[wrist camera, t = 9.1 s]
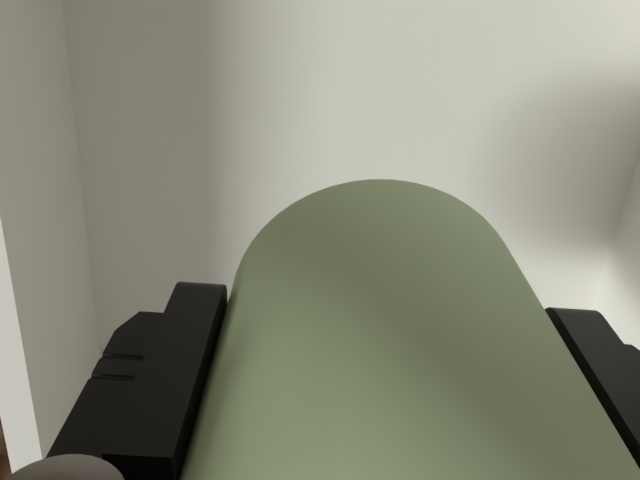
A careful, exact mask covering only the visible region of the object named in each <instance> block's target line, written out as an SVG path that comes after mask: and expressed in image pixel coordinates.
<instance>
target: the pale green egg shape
mask: <svg viewBox="0 0 640 480" xmlns="http://www.w3.org/2000/svg"><path fill="white" fill-rule="evenodd" d="M179 480H640V469H639V467H638V465H637V464H636V462H635V460H634V459H633V457H632V455H631V454H630V452H629V450H628V448H627V447H626V445H625V443H624V442H623V440H622V438H621V437H620V435H619V433H618V432H617V430H616V428H615V427H614V425H613V423H612V422H611V420H610V418H609V417H608V415H607V413H606V412H605V410H604V408H603V407H602V405H601V403H600V402H599V400H598V398H597V397H596V395H595V393H594V392H593V390H592V388H591V387H590V385H589V383H588V382H587V380H586V378H585V376H584V375H583V373H582V371H581V370H580V368H579V366H578V365H577V363H576V361H575V360H574V358H573V356H572V355H571V353H570V351H569V350H568V348H567V346H566V345H565V343H564V341H563V340H562V338H561V336H560V335H559V333H558V331H557V330H556V328H555V326H554V325H553V323H552V321H551V320H550V318H549V316H548V315H547V313H546V311H545V310H544V308H543V306H542V304H541V303H540V301H539V299H538V298H537V296H536V294H535V293H534V291H533V289H532V288H531V286H530V284H529V283H528V281H527V279H526V278H525V276H524V274H523V273H522V271H521V269H520V268H519V266H518V264H517V263H516V261H515V259H514V258H513V256H512V254H511V253H510V251H509V249H508V248H507V246H506V244H505V243H504V241H503V240H502V238H501V237H500V236H499V234H498V233H497V231H496V230H495V229H494V228H493V227H492V226H491V225H490V223H489V222H488V221H487V220H486V219H485V218H484V217H483V216H482V215H480V214H479V213H478V212H477V211H475V210H474V209H473V208H471V207H470V206H469V205H468V204H466V203H464V202H462V201H461V200H459V199H457V198H455V197H454V196H452V195H450V194H448V193H445V192H443V191H440V190H438V189H435V188H433V187H429V186H426V185H422V184H418V183H414V182H408V181H401V180H393V179H368V180H359V181H351V182H346V183H342V184H338V185H334V186H330V187H327V188H325V189H322V190H319V191H317V192H314V193H311V194H309V195H307V196H306V197H304V198H302V199H300V200H298V201H296V202H294V203H293V204H291V205H290V206H288V207H287V208H285V209H284V210H283V211H281V212H280V213H278V214H277V215H276V216H275V217H274V218H273V219H272V220H271V221H270V222H268V223H267V224H266V225H265V226H264V227H263V228H262V229H261V231H260V232H259V233H258V234H257V236H256V237H255V238H254V239H253V241H252V242H251V243H250V245H249V247H248V248H247V250H246V252H245V253H244V255H243V257H242V259H241V262H240V264H239V266H238V269H237V271H236V274H235V278H234V281H233V285H232V289H231V292H230V296H229V300H228V303H227V307H226V311H225V314H224V318H223V322H222V325H221V329H220V333H219V336H218V340H217V344H216V347H215V351H214V355H213V358H212V362H211V366H210V369H209V373H208V376H207V380H206V384H205V387H204V391H203V395H202V398H201V402H200V406H199V409H198V413H197V417H196V420H195V424H194V428H193V431H192V435H191V439H190V442H189V446H188V450H187V453H186V457H185V460H184V464H183V468H182V471H181V475H180V479H179Z"/></svg>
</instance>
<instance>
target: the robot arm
mask: <svg viewBox="0 0 640 480" xmlns="http://www.w3.org/2000/svg"><path fill="white" fill-rule="evenodd" d="M226 307H227V287H226V285H224V284H209V283H194V282H177V284H176V285H175V288H174V290H173V292H172V294H171V297H170V299H169V301H168V303H167V306H166V308H165V310H164V313H160V312H145V311H139V312H138V313H137V314H135V315H134V316H133V317H131V318H130V319H129V320H127V321H126V322H125V323H124V324H122V325H121V326H120V327H118V328H117V329H116V330H115V331H114V333H113V335H112V337H111V338H110V340H109V342H108V344H107V346H106V348H105V349H104V351H103V353H102V358H100V359H99V360H98V362H97V364H96V366H95V368H94V370H93V371H92V375H91V378H89V379H88V381H87V382H86V384H85V386H84V388H83V390H82V392H81V393H80V395H79V397H78V399H77V401H76V403H75V404H74V406H73V408H72V410H71V412H70V414H69V415H68V417H67V419H66V421H65V423H64V425H63V426H62V428H61V430H60V432H59V434H58V436H57V437H56V439H55V441H54V443H53V445H52V447H51V448H50V450H49V452H48V454H47V456H46V458H45V459H42V460H39V461H36V462H33V463H31V464H29V465H27V466H25V467H23V468H21V469H19V470H17V471H16V472H14V473H12V474H11V475H9V476H8V477H7V478H5V479H4V480H179V479H180V475H181V471H182V468H183V464H184V460H185V457H186V453H187V450H188V446H189V442H190V439H191V435H192V431H193V428H194V424H195V420H196V417H197V413H198V409H199V406H200V402H201V398H202V395H203V391H204V387H205V384H206V380H207V376H208V373H209V369H210V366H211V362H212V358H213V355H214V351H215V347H216V344H217V340H218V336H219V333H220V329H221V325H222V322H223V318H224V314H225V311H226ZM545 311H546V313H547V315H548V316H549V318H550V320H551V321H552V323H553V325H554V326H555V328H556V330H557V331H558V333H559V335H560V336H561V338H562V340H563V341H564V343H565V345H566V346H567V348H568V350H569V351H570V353H571V355H572V356H573V358H574V360H575V361H576V363H577V365H578V366H579V368H580V370H581V371H582V373H583V375H584V376H585V378H586V380H587V382H588V383H589V385H590V387H591V388H592V390H593V392H594V393H595V395H596V397H597V398H598V400H599V402H600V403H601V405H602V407H603V408H604V410H605V412H606V413H607V415H608V417H609V418H610V420H611V422H612V423H613V425H614V427H615V428H616V430H617V432H618V433H619V435H620V437H621V438H622V440H623V442H624V443H625V445H626V447H627V448H628V450H629V452H630V454H631V455H632V457H633V459H634V460H635V462H636V464H637V465H638V467H639V469H640V350H639V349H637V348H636V347H634V346H633V345H630V344H624V343H623V342H622V341H621V339H620V338H619V337H618V335H617V334H616V332H615V331H614V330H613V328H612V327H611V326H610V324H609V323H608V322H607V320H606V319H605V318H604V316H603V315H602V314H601V313H600V312H598V311H596V310H583V309H569V308H554V307H548V308H546V309H545Z"/></svg>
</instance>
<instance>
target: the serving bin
mask: <svg viewBox="0 0 640 480" xmlns="http://www.w3.org/2000/svg"><path fill="white" fill-rule="evenodd" d="M368 179H393V180H401V181H408V182H414V183H418V184H422V185H426V186H429V187H433V188H435V189H438V190H440V191H443V192H445V193H448V194H450V195H452V196H454V197H455V198H457V199H459V200H461V201H462V202H464V203H466V204H468V205H469V206H470V207H471V208H473V209H474V210H475V211H477V212H478V213H479V214H480V215H482V216H483V217H484V218H485V219H486V220H487V221H488V222H489V223H490V225H491V226H492V227H493V228H494V229H495V230H496V231H497V233H498V234H499V236H500V237H501V238H502V240H503V241H504V243H505V244H506V246H507V248H508V249H509V251H510V253H511V254H512V256H513V258H514V259H515V261H516V263H517V264H518V266H519V268H520V269H521V271H522V273H523V274H524V276H525V278H526V279H527V281H528V283H529V284H530V286H531V288H532V289H533V291H534V293H535V294H536V296H537V298H538V299H539V301H540V303H541V304H542V306H543V308H544V310H545V309H546V308H548V307H554V308H569V309H583V310H596V311H598V312H600V313H601V314H602V315H603V316H604V318H605V319H606V320H607V322H608V323H609V324H610V326H611V327H612V328H613V330H614V331H615V332H616V334H617V335H618V337H619V338H620V339H621V341H622V342H623V343H624V344H630V345H633V346H634V347H636V348H637V349H639V350H640V0H0V417H1V422H2V427H3V431H4V436H5V441H6V446H7V451H8V456H9V461H10V466H11V471H12V473H14V472H16V471H17V470H19V469H21V468H23V467H25V466H27V465H29V464H31V463H33V462H36V461H39V460H42V459H45V458H46V456H47V454H48V452H49V450H50V448H51V447H52V445H53V443H54V441H55V439H56V437H57V436H58V434H59V432H60V430H61V428H62V426H63V425H64V423H65V421H66V419H67V417H68V415H69V414H70V412H71V410H72V408H73V406H74V404H75V403H76V401H77V399H78V397H79V395H80V393H81V392H82V390H83V388H84V386H85V384H86V382H87V381H88V379H89V378H91V375H92V371H93V370H94V368H95V366H96V364H97V362H98V360H99V359H100V358H102V353H103V351H104V349H105V348H106V346H107V344H108V342H109V340H110V338H111V337H112V335H113V333H114V331H115V330H116V329H117V328H118V327H120V326H121V325H122V324H124V323H125V322H126V321H127V320H129V319H130V318H131V317H133V316H134V315H135V314H137V313H138V312H139V311H145V312H160V313H164V310H165V308H166V306H167V303H168V301H169V299H170V297H171V294H172V292H173V290H174V288H175V285H176V284H177V282H194V283H209V284H224V285H226V287H227V303H228V300H229V296H230V292H231V289H232V285H233V281H234V278H235V274H236V271H237V269H238V266H239V264H240V262H241V259H242V257H243V255H244V253H245V252H246V250H247V248H248V247H249V245H250V243H251V242H252V241H253V239H254V238H255V237H256V236H257V234H258V233H259V232H260V231H261V229H262V228H263V227H264V226H265V225H266V224H267V223H268V222H270V221H271V220H272V219H273V218H274V217H275V216H276V215H277V214H278V213H280V212H281V211H283V210H284V209H285V208H287V207H288V206H290V205H291V204H293V203H294V202H296V201H298V200H300V199H302V198H304V197H306V196H307V195H309V194H311V193H314V192H317V191H319V190H322V189H325V188H327V187H330V186H334V185H338V184H342V183H346V182H351V181H359V180H368Z"/></svg>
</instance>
